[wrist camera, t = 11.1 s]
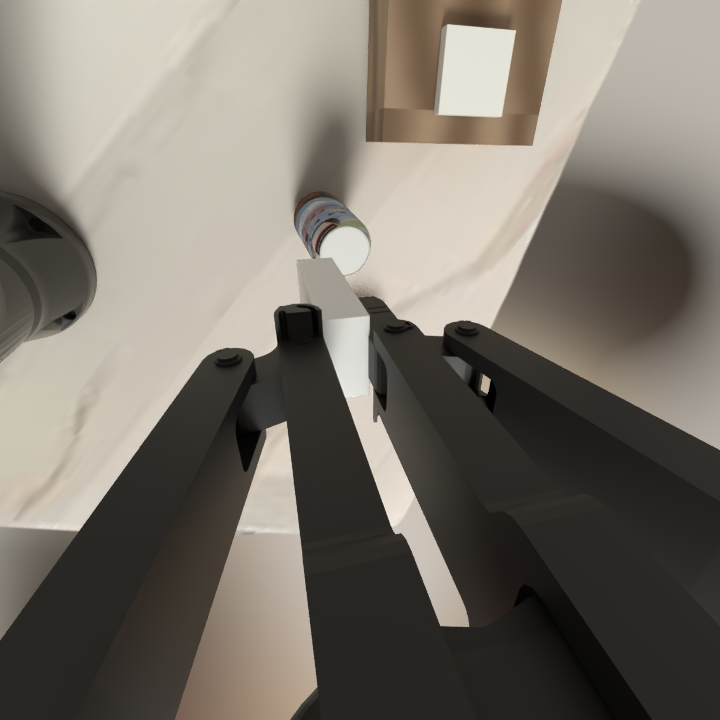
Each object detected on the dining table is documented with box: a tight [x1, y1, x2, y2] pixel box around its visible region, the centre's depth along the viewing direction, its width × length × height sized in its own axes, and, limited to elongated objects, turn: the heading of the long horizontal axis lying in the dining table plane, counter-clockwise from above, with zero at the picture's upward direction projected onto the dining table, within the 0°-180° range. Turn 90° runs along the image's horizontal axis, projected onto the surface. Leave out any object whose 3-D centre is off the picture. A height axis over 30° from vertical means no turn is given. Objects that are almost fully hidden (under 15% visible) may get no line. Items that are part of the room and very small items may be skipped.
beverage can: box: [294, 192, 371, 277], centre depth 41 cm, size 6×7×12 cm
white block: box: [434, 24, 516, 118], centre depth 38 cm, size 6×6×8 cm
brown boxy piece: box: [366, 0, 562, 146], centre depth 36 cm, size 16×23×7 cm
